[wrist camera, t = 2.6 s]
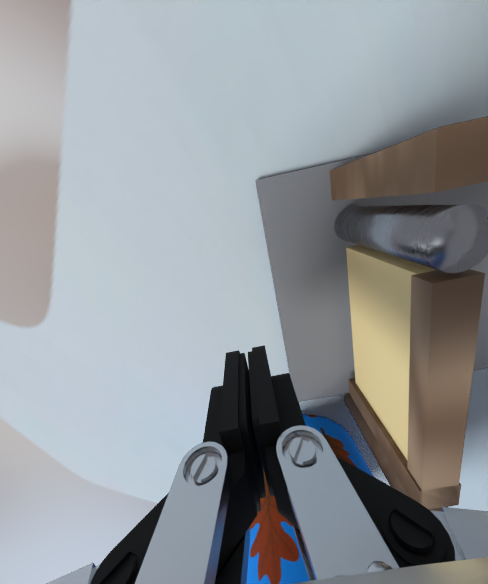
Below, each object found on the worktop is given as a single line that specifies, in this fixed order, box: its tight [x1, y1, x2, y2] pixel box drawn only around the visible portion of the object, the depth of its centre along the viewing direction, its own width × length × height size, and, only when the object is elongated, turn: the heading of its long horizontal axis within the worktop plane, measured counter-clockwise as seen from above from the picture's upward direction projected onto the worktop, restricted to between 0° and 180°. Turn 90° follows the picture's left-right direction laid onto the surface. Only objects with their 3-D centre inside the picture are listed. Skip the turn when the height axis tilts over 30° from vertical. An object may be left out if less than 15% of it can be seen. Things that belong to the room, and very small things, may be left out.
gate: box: [334, 204, 488, 509], centre depth 13 cm, size 14×2×8 cm, turn 12°
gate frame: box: [256, 116, 488, 512], centre depth 13 cm, size 18×19×8 cm
